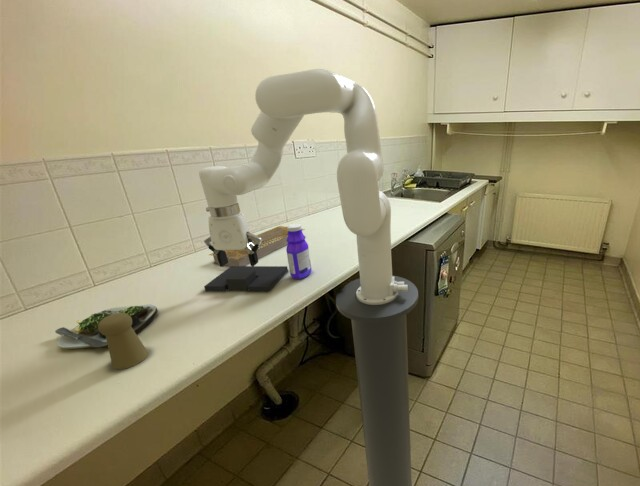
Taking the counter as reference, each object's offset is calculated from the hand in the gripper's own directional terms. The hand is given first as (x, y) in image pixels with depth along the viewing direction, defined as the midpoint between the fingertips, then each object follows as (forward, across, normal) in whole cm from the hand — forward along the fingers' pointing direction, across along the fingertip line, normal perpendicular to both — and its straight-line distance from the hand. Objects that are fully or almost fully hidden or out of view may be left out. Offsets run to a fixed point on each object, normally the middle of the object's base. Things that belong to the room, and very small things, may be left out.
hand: (239, 264), depth 95 cm
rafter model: (+7, -10, +30) cm, 33 cm away
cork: (+7, -8, -32) cm, 34 cm away
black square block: (+7, 0, 0) cm, 8 cm away
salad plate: (+7, -22, -22) cm, 32 cm away
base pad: (+7, -1, +4) cm, 8 cm away
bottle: (+8, +15, +8) cm, 19 cm away
